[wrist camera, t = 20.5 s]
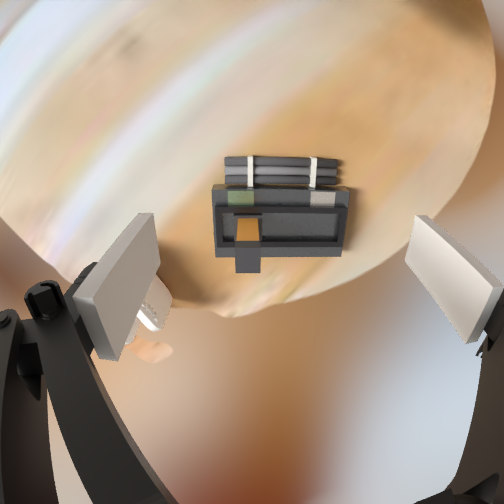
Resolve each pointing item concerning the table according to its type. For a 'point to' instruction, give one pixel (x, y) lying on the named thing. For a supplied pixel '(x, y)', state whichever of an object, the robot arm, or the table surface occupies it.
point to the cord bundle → (280, 170)
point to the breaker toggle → (247, 242)
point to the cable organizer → (152, 309)
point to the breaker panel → (283, 218)
